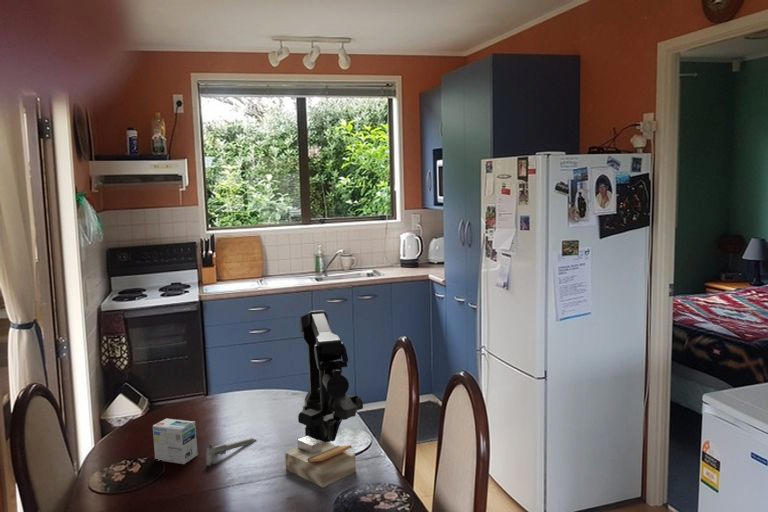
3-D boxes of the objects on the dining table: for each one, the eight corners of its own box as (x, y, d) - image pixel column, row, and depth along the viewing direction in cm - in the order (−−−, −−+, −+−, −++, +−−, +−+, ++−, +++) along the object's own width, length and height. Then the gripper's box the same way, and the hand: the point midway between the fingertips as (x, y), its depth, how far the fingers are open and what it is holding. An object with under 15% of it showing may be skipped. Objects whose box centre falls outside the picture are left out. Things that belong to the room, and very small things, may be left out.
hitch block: (285, 469, 177) (285, 452, 177) (318, 455, 186) (318, 439, 185) (322, 487, 166) (322, 469, 165) (355, 471, 174) (355, 454, 174)
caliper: (209, 467, 180) (208, 446, 179) (206, 466, 181) (205, 446, 180) (256, 441, 198) (255, 422, 197) (254, 440, 198) (252, 421, 198)
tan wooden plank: (307, 462, 170) (307, 458, 170) (338, 449, 178) (337, 445, 178) (321, 460, 166) (320, 457, 166) (351, 447, 174) (350, 444, 174)
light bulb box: (198, 455, 188) (196, 420, 187) (184, 465, 182) (182, 429, 180) (168, 451, 192) (166, 417, 190) (153, 460, 185) (151, 425, 184)
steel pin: (308, 458, 182) (307, 435, 182) (322, 465, 178) (321, 441, 177) (298, 462, 180) (297, 439, 179) (312, 469, 175) (311, 445, 175)
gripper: (323, 401, 157) (325, 460, 158) (376, 382, 170) (377, 438, 172) (295, 391, 164) (298, 448, 166) (348, 374, 178) (350, 427, 179)
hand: (332, 440), depth 171 cm, fingers closed
